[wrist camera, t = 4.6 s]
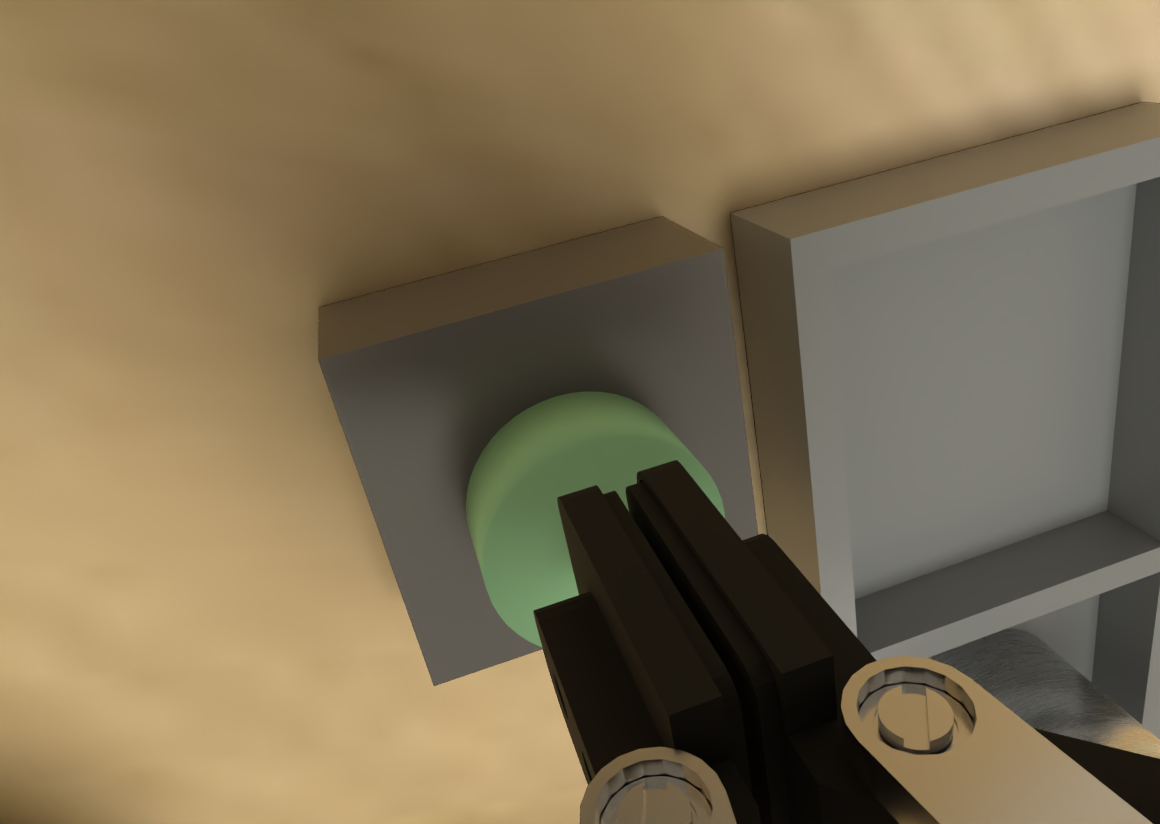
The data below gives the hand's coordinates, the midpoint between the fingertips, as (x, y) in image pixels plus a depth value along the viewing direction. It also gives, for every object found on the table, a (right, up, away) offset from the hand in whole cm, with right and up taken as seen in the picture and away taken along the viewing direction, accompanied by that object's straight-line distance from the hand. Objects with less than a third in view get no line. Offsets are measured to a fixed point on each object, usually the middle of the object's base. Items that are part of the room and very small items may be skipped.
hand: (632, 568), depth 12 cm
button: (-2, +2, +6) cm, 7 cm away
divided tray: (+9, -2, +12) cm, 15 cm away
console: (-2, +2, +7) cm, 7 cm away
